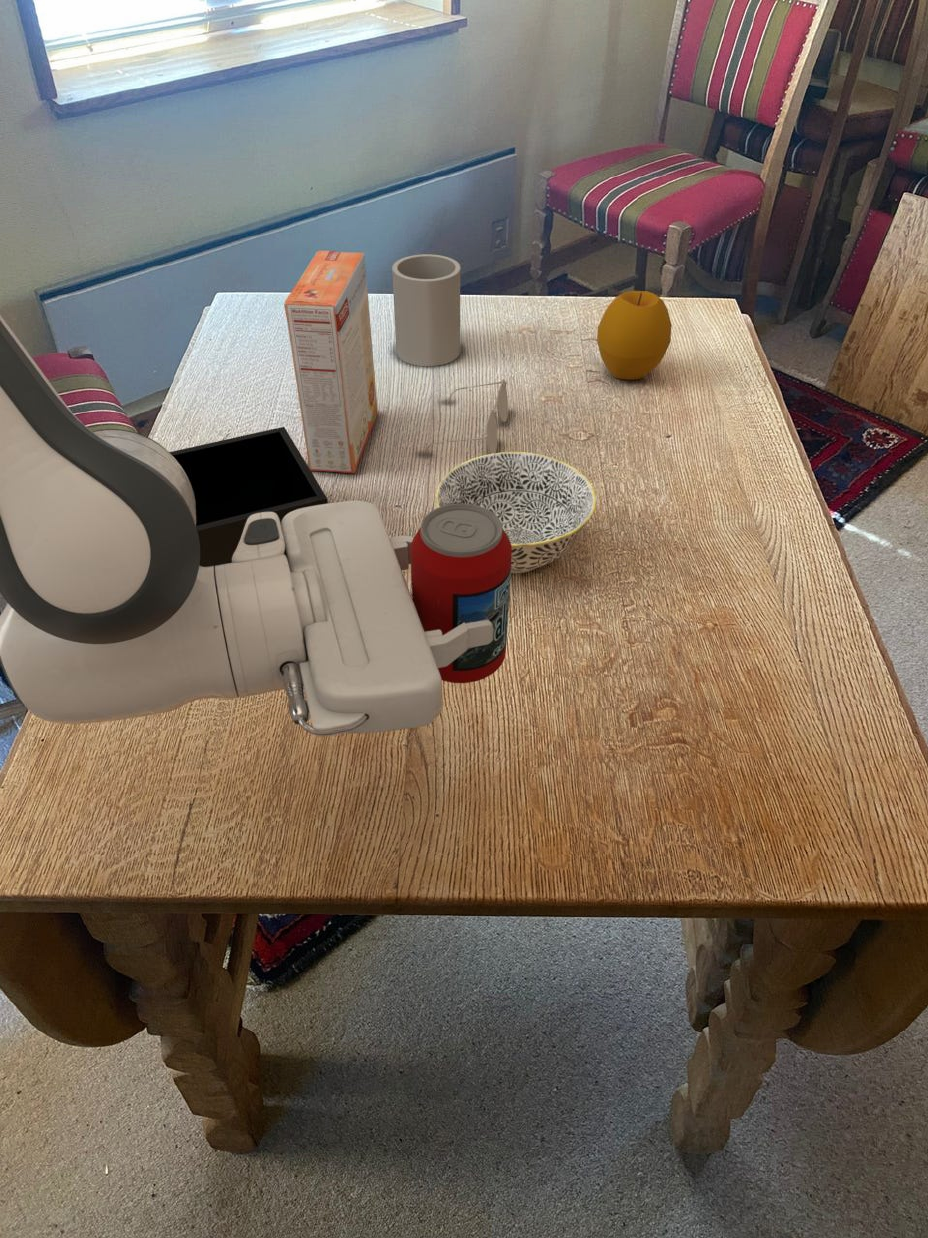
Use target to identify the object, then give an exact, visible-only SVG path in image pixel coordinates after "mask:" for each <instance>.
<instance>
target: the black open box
mask: <svg viewBox="0 0 928 1238" xmlns="http://www.w3.org/2000/svg"><path fill="white" fill-rule="evenodd" d="M168 452H169V453H170V454H171V455H172V456H173V457H174V458H175V459H176V460H177V462H178V463H179V464H180V465H181V467H182V468H183V470H184V471H185V473H186V475H187V477H188V479H189V481H190V483H191V486H192V489H193V492H194V497H195V504H196V529H197V532H198V537H199V543H200V566H202V567H209V566H214V567H215V566H216V565H222V564H228V563H232V556H233V554H234V552H235V550H236V548H237V546H238V543H239V541H240V538H241V536H242V533H243V530H244V527H245V524H246V521H247V519H248V518H249V517H250V516H251V515H253V514H256V513H261V512H274V513H276V514H277V515H278V517H279V520H280V524H281V521H282V519H283V518H284V516H285V515H287V514H288V513H290V512H292V511H294V510H297V509H300V508H305V507H310V506H315V505H322V504H328V503H329V501H328V497H327V495H326V494H325V492H324V490H323V488H322V487H321V485H320V484H319V482H318V480H317V478H316V477H315V475H314V474H313V471H312V470H310V469H309V464H308V463H307V462H306V460H305V459H304V457H303V455H302V454H301V452H300V451H299V449H298V446H297V445H296V444H295V443H294V441H293V439H292V437H291V436H290V434H289V432H288V431H287V429H286V427H285V426H281V427H280V426H279V427H276V428H271V429H266V430H262V431H259V432H252V433H249V434H244V435H239V436H235V437H230V438H225V439H222V440H217V441H213V442H208V443H204V444H200V445H195V446H190V447H186V448H181V449H177V450H172V451H168Z"/></svg>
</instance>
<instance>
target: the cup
mask: <svg viewBox="0 0 928 1238" xmlns="http://www.w3.org/2000/svg"><path fill="white" fill-rule="evenodd" d="M391 267H392V268H391V271H392V292H393V295H392V296H393V313H394V315H393V316H394V335H395V336H394V337H395V353H396V356H397V357H398V358H399V359H400V360H401V361H402V362H403V363H407V364H409V365H412V366H418V367H438V366H442V365H446V364H449V363H452V362H454V361H456V360H457V359H458V357H459V356H460V354H461V264H460V263H459V262H458V261H456V260H455V259H453V258H451V257H449V256H445V255H441V254H430V253H428V254H427V253H425V254H413V255H409V256H405V257H402V258H400V259H398V260H396V261H395V262H394V263H393V264H392V266H391Z"/></svg>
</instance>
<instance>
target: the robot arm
mask: <svg viewBox="0 0 928 1238" xmlns="http://www.w3.org/2000/svg"><path fill="white" fill-rule="evenodd" d="M169 452H170V451H168V449H166V448H165V447H164V446H163V445H161V444H160V443H158V442H157V441H155V439H152V438H150V437H148V436H146V435H143V434H141V433H139V432H135V431H131V430H128V429H127V430H126V429H121V428H120V429H119V428H105V429H97V430H93V431H92V430H91V429H90V428H89V427H87V426H86V425H85V424H84V423H83V422H82V421H81V420H80V419H79V418H78V417H77V416H76V415H75V414H74V413H73V412H72V410H71V409H70V408H69V406H68V405H67V403H66V402H65V401H64V400H63V398H62V397H61V396H60V393H59V392H57V390H56V388H55V387H54V386H53V385H52V383H51V381H50V380H49V379H48V378H47V377H46V375H45V374H44V372H43V371H42V370H41V368H40V367H39V365H38V364H37V363H36V362H35V360H34V359H33V357H32V356H31V355H30V353H29V352H28V350H27V349H26V347H24V345H23V343H22V342H21V341H20V340H19V338H18V337H17V335H16V334H15V332H14V331H13V330H12V328H11V327H10V326H9V325H8V323H7V322H6V321H5V319H4V318H3V316H2V315H1V314H0V594H1V596H2V598H3V599H4V600H5V602H6V606H5V607H4V609H3V611H2V612H1V614H0V667H1V670H2V673H3V675H4V677H5V680H6V682H7V684H8V686H9V688H10V689H11V691H12V693H13V694H14V696H15V697H16V698H17V700H18V701H19V702H20V704H21V705H22V706H23V707H25V708H26V709H27V710H28V711H29V712H30V713H31V714H32V715H33V716H35V717H36V718H38V719H41V720H43V721H46V722H49V723H54V724H60V725H61V724H64V725H82V724H83V725H84V724H85V725H86V724H97V723H106V722H115V721H123V720H129V719H135V718H142V717H147V716H153V715H159V714H165V713H169V712H173V711H176V710H178V709H179V708H181V707H183V706H185V705H187V704H190V703H193V702H196V701H200V700H205V699H222V700H223V699H225V700H237V699H242V698H247V697H251V696H257V695H261V694H267V693H271V692H277V691H283V690H285V693H286V696H287V699H288V713H289V716H290V719H291V720H292V722H293V724H294V725H298V726H300V728H302V729H303V730H304V731H305V732H307V733H309V734H312V735H314V736H315V737H318V738H329V737H333V736H338V735H342V734H343V735H344V734H351V735H352V734H353V735H354V734H374V733H386V732H394V731H403V730H410V729H416V728H421V727H426V726H428V725H430V724H432V723H433V722H434V721H435V720H436V719H437V718H438V717H439V716H440V715H441V714H442V712H443V700H444V699H443V695H444V694H443V681H442V679H441V675H440V673H439V670H438V668H441V667H446V666H448V665H449V664H450V663H452V662H453V661H454V660H455V659H457V658H458V657H459V656H460V655H462V654H463V653H464V652H465V651H467V649H468V648H472V647H477V646H482V645H487V644H489V643H491V642H492V640H493V629H494V628H493V626H492V623H491V622H490V620H489V617H488V615H487V613H486V612H484V611H481V612H476V613H470V614H462V624H461V625H459V626H457V627H456V628H454V629H453V630H451V631H449V632H448V633H446V634H445V635H442V632H441V630H439V629H438V630H433V631H427V632H424V629H423V627H422V624H421V621H420V619H419V616H418V613H417V610H416V608H415V605H414V602H413V600H412V593H411V592H410V590H409V586H408V584H407V583H408V582H407V581H406V577H405V575H404V573H403V571H406V570H409V569H410V565H411V543H412V540H413V538H414V536H410V535H405V534H403V535H398V536H391V537H390V535H389V532H388V529H387V527H386V524H385V521H384V519H383V516H382V513H381V510H380V508H379V506H378V505H376V504H374V503H372V502H368V501H364V500H361V499H359V500H355V499H354V500H344V501H335V502H328V504H322V505H315V506H310V507H305V508H300V509H297V510H294V511H292V512H290V513H288V514H287V515H285V516H284V518H283V519H282V521H281V524H280V520H279V517H278V515H277V514H276V513H274V512H261V513H256V514H253V515H251V516H250V517H249V518H248V519H247V521H246V524H245V527H244V530H243V533H242V536H241V538H240V541H239V543H238V546H237V548H236V550H235V552H234V554H233V556H232V563H228V564H222V565H216V566H215V567H214V566H209V567H202V566H200V543H199V537H198V532H197V529H196V504H195V497H194V492H193V489H192V486H191V483H190V481H189V479H188V477H187V475H186V473H185V471H184V470H183V468H182V467H181V465H180V464H179V463H178V462H177V460H176V459H175V458H174V457H173V456H172V455H171V454H170V453H169ZM309 720H310V724H309V723H308V721H309Z"/></svg>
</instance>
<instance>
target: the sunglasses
mask: <svg viewBox="0 0 928 1238" xmlns="http://www.w3.org/2000/svg"><path fill="white" fill-rule="evenodd" d="M491 385H492V386H493V385H499V387H498V390H497V396H496V404H494V405H493V409H491V410H490V412H489V414H488V417H487V420H486V423H485V436H483V437H474V438H465V439H455V440H448V441H436V442H432V443H430V444H429V445H428V446H427V447H426V449H425V451H424V452H423V454H422V455H424V456H425V455H426V454H427V453H428V451H429V449H430V447H431V446H433V445H438V444H439V445H440V444H445V443H455V442H467V441H468V442H470V441H480V440H482V441H483V440H486V444H487V445H486V446H487V448H488V453H489V454H493V453H497V448H498V428H497V420H496V419H498V417H499V419H500V421H501V422H502V423H506V422H507V420H508V417H509V401H508V391H507V385H508V382H507V380H505V379H501V381H497V382H490V383H484V384H479V385H471V386H464V387H459V388H456V389H455V390H453V391H452V393H450V395H449V397H448V399H447V401H446V404H449V402H450V401H451V399H452V397H453V395H454V394H455V392H457V391H460V390H465V389H469V388H470V389H471V388H477V387H483V386H491ZM495 408H496V410H495ZM497 416H498V417H497Z"/></svg>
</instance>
